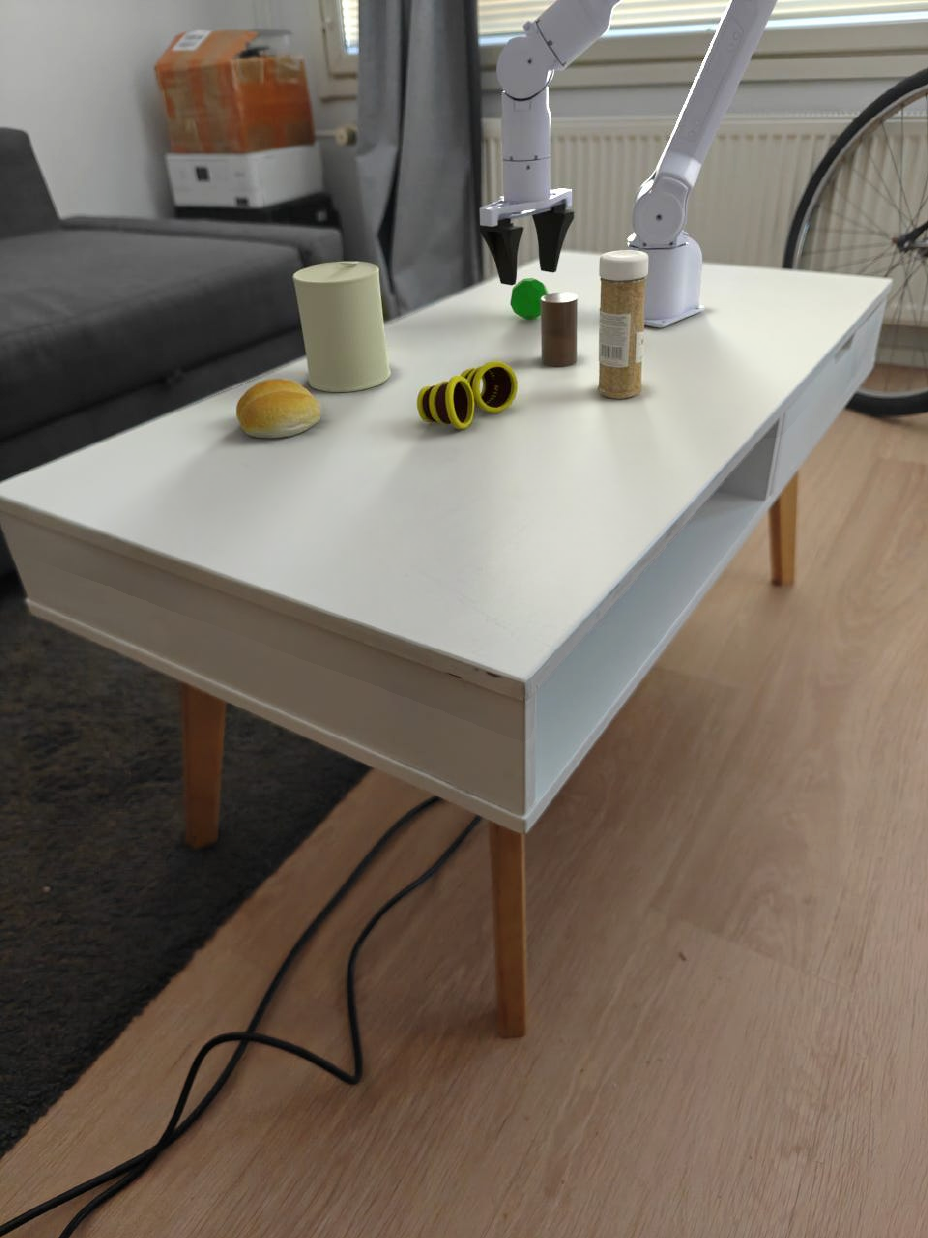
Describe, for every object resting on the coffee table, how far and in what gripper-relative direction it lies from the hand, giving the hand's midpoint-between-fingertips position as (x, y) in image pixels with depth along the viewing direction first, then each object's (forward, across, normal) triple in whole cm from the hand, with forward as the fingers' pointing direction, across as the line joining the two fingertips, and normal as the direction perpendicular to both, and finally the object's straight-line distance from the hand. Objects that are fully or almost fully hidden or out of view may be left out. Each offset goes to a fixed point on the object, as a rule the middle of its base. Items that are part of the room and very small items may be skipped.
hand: (528, 277), depth 113 cm
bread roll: (+5, +42, +4) cm, 43 cm away
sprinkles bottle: (+5, +15, +26) cm, 31 cm away
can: (+5, +29, -1) cm, 29 cm away
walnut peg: (+5, +11, +15) cm, 19 cm away
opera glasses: (+5, +29, +18) cm, 35 cm away
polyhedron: (+5, 0, 0) cm, 5 cm away
